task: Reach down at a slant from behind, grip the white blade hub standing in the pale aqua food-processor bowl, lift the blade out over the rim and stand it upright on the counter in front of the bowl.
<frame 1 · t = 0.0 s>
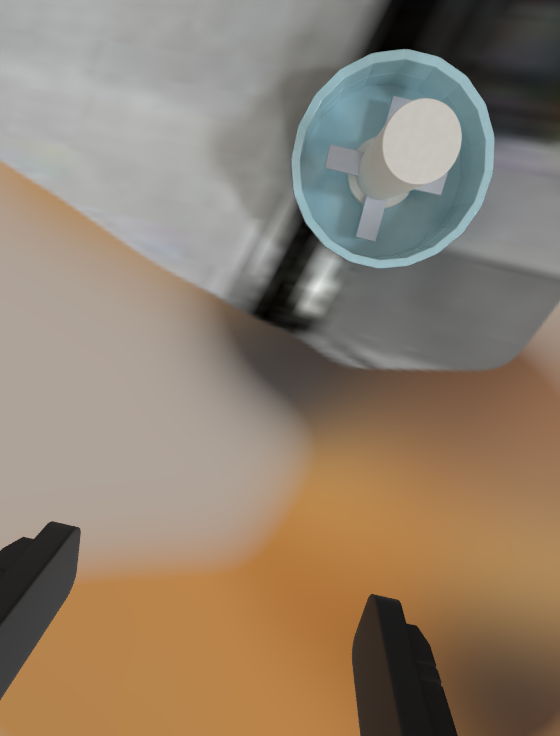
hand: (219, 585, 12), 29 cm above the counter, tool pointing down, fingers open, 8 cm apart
processor bowl: (378, 175, 35), on the counter
blade: (379, 174, 35), point 1 cm above the counter, touching processor bowl
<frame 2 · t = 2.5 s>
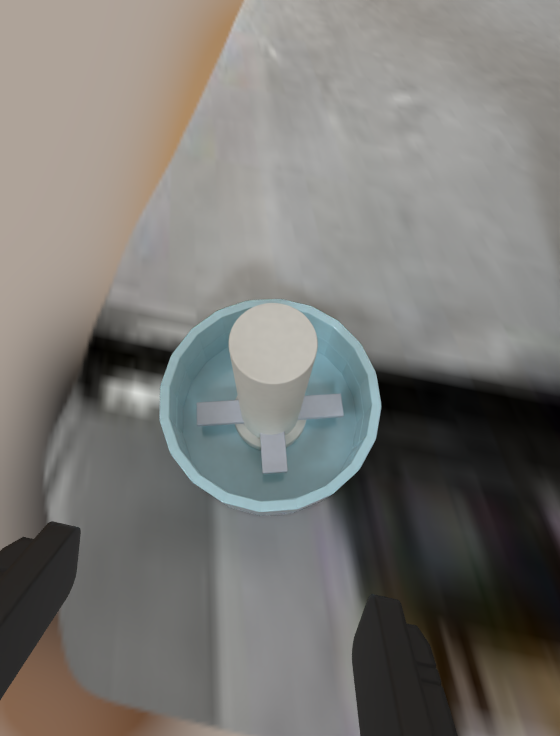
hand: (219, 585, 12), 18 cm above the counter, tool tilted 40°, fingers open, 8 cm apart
processor bowl: (269, 417, 32), on the counter
blade: (269, 415, 32), point 1 cm above the counter, touching processor bowl
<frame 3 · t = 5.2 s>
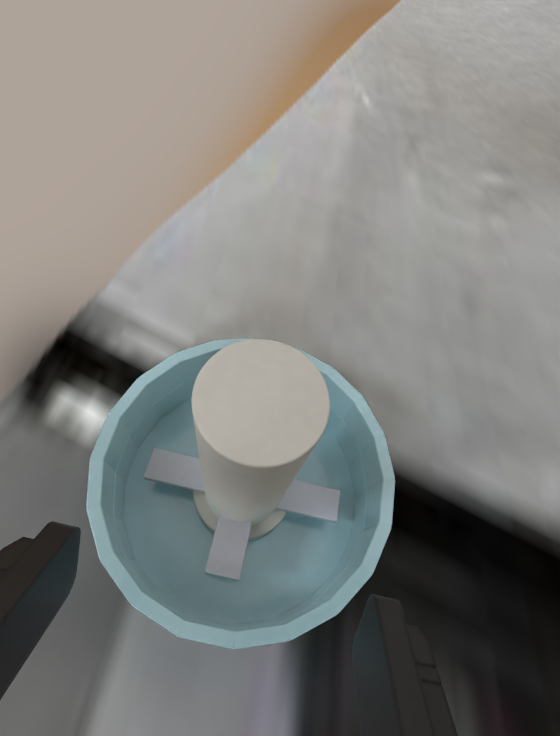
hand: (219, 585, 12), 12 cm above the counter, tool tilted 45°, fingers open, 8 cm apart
processor bowl: (242, 493, 25), on the counter
blade: (242, 491, 24), point 1 cm above the counter, touching processor bowl
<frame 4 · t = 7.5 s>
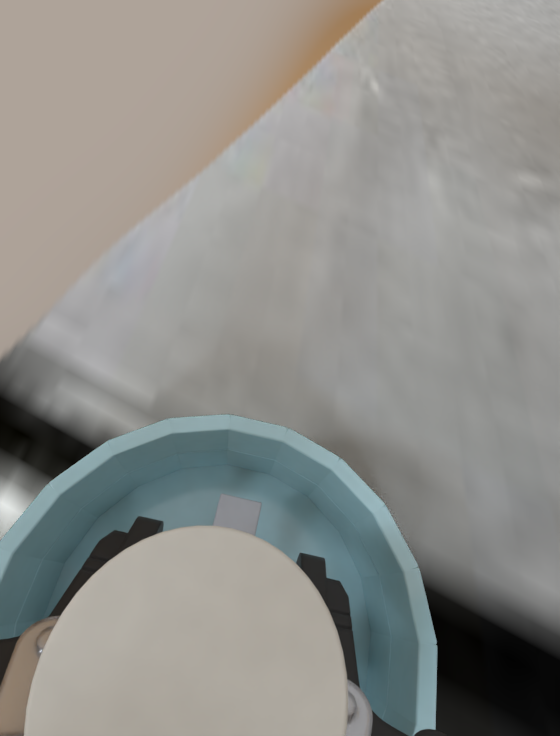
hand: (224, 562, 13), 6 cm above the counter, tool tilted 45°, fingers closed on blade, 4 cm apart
processor bowl: (212, 624, 18), on the counter
blade: (211, 625, 17), point 1 cm above the counter, touching gripper, processor bowl
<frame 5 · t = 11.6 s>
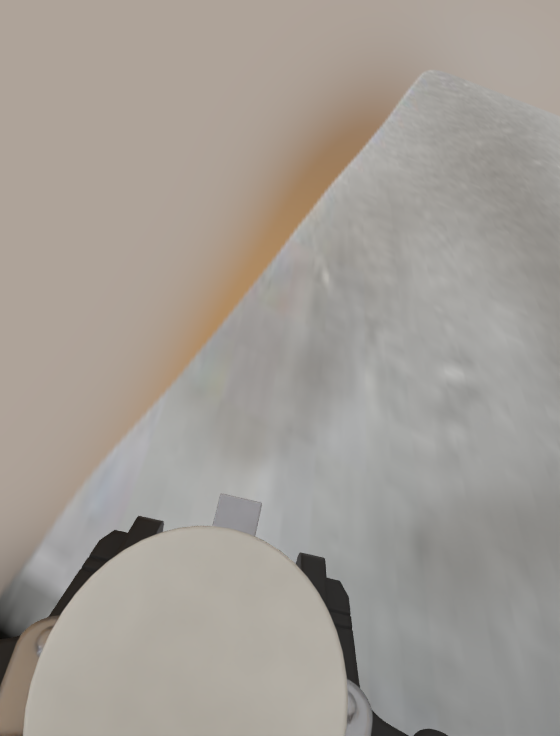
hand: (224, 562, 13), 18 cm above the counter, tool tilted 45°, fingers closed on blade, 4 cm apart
blade: (211, 626, 17), point 13 cm above the counter, touching gripper
when the fingers open (6 cm above the counter, at t = 15.6 s): blade stays where it is, on the counter.
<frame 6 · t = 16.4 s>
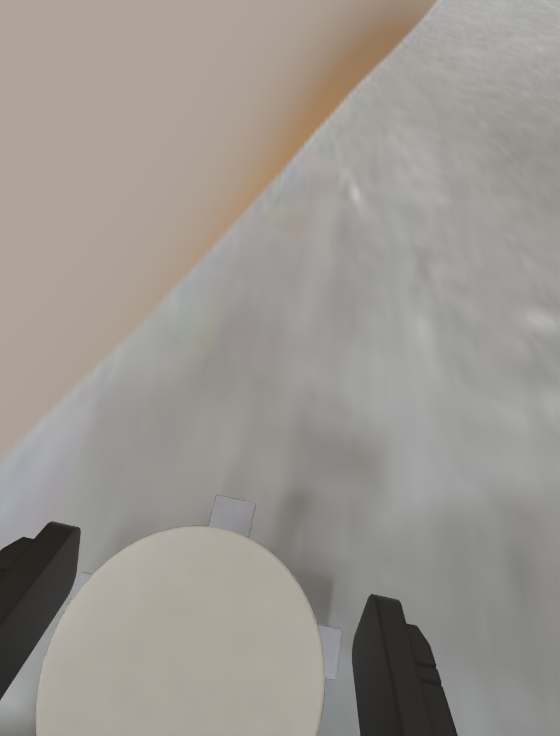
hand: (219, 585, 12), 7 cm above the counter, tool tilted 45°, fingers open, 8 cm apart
blade: (207, 622, 18), on the counter
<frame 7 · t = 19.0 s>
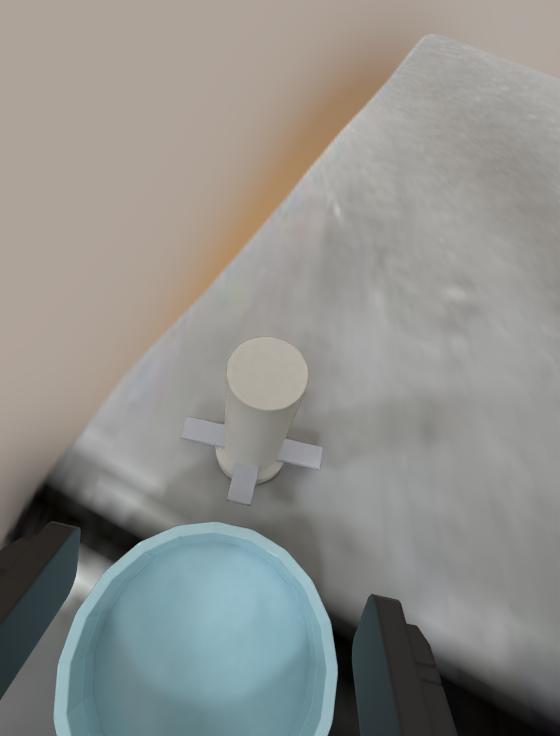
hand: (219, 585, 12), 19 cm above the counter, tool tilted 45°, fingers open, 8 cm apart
processor bowl: (205, 653, 27), on the counter
blade: (251, 449, 33), on the counter
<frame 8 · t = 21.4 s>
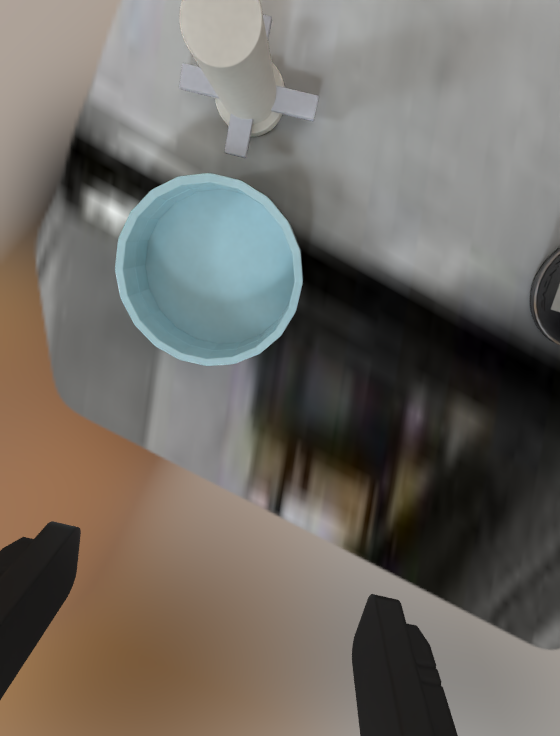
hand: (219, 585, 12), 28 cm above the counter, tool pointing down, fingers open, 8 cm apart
processor bowl: (221, 269, 37), on the counter
blade: (251, 98, 33), on the counter
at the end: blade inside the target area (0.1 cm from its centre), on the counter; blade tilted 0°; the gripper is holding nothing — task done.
